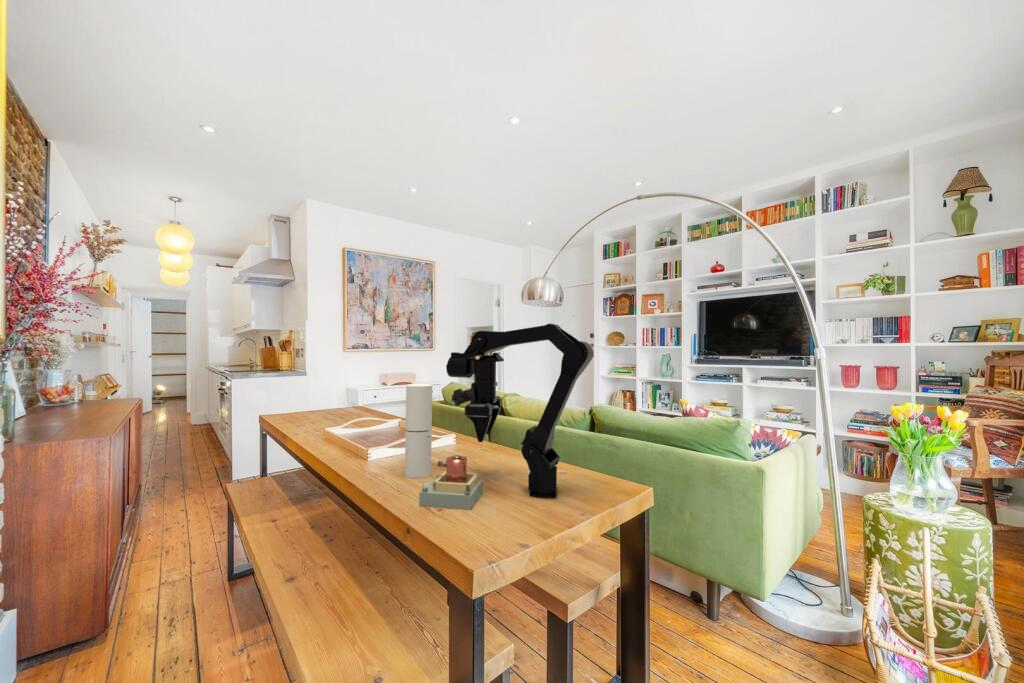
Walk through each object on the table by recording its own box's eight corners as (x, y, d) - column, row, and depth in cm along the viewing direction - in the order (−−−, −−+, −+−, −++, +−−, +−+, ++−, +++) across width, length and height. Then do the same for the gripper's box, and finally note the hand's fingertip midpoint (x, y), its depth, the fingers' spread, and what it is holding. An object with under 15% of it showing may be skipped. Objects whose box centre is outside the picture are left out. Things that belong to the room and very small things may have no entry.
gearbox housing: (482, 492, 101) (482, 472, 102) (470, 509, 91) (471, 486, 91) (429, 488, 104) (430, 468, 104) (412, 505, 93) (412, 483, 93)
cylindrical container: (400, 474, 115) (401, 384, 116) (422, 469, 120) (423, 383, 121) (413, 480, 110) (414, 386, 110) (435, 474, 115) (437, 385, 115)
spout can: (469, 483, 99) (469, 454, 99) (463, 490, 94) (463, 459, 94) (441, 481, 100) (441, 452, 100) (434, 488, 95) (434, 457, 95)
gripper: (464, 375, 119) (464, 429, 118) (444, 380, 100) (443, 444, 100) (502, 376, 117) (502, 431, 117) (489, 381, 99) (488, 447, 98)
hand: (484, 438), depth 108 cm, fingers open, 9 cm apart
